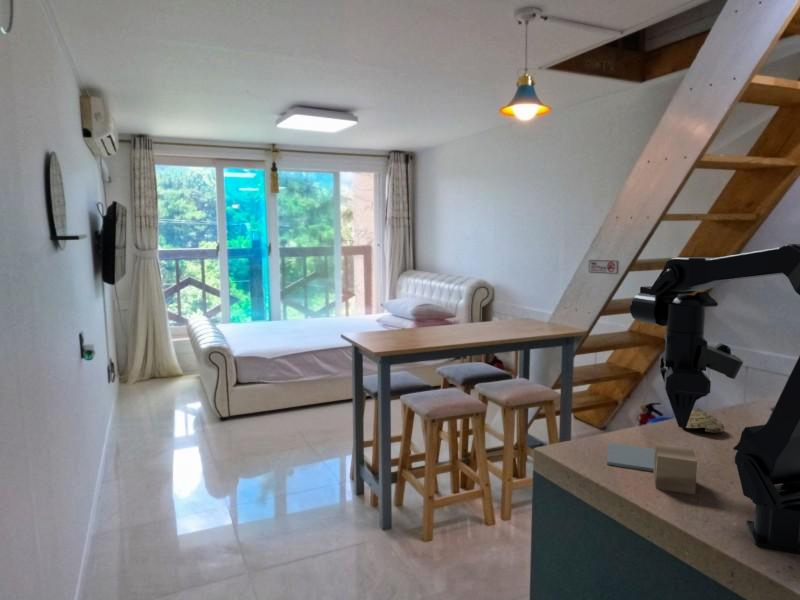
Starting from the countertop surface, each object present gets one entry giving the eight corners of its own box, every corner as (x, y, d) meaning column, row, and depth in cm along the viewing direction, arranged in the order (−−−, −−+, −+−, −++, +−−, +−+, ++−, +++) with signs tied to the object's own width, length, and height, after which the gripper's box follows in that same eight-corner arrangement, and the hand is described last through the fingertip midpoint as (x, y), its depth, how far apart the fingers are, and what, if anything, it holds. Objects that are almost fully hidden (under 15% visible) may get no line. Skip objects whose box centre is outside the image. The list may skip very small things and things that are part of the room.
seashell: (721, 429, 111) (685, 406, 116) (708, 449, 113) (673, 426, 119) (733, 421, 117) (698, 400, 122) (720, 440, 119) (686, 419, 124)
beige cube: (694, 495, 88) (697, 461, 88) (655, 488, 91) (657, 456, 90) (690, 480, 94) (692, 448, 93) (653, 474, 96) (655, 443, 95)
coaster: (665, 473, 96) (665, 470, 96) (607, 464, 100) (607, 461, 100) (661, 452, 105) (661, 449, 105) (607, 445, 109) (608, 442, 109)
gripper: (752, 344, 77) (745, 444, 79) (729, 325, 94) (724, 408, 96) (668, 338, 82) (663, 434, 84) (661, 321, 99) (657, 401, 101)
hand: (679, 418), depth 91 cm, fingers open, 9 cm apart
